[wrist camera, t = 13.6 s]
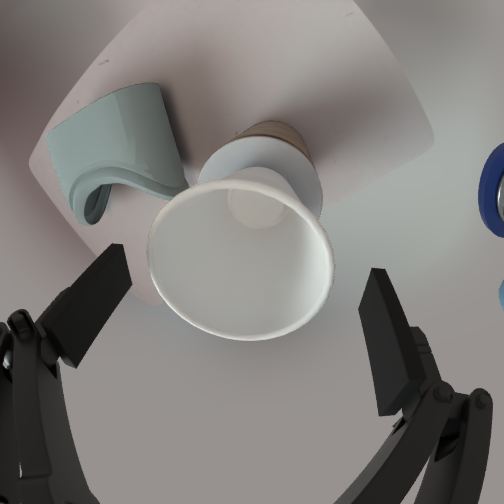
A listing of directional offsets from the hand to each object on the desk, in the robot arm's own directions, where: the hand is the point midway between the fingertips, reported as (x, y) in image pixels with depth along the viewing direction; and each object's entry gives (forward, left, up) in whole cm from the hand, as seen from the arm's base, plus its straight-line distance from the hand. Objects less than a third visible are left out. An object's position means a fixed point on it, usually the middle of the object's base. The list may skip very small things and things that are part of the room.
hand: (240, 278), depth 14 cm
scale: (0, 0, -13) cm, 13 cm away
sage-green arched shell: (+25, 0, -33) cm, 42 cm away
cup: (0, 0, -11) cm, 11 cm away
